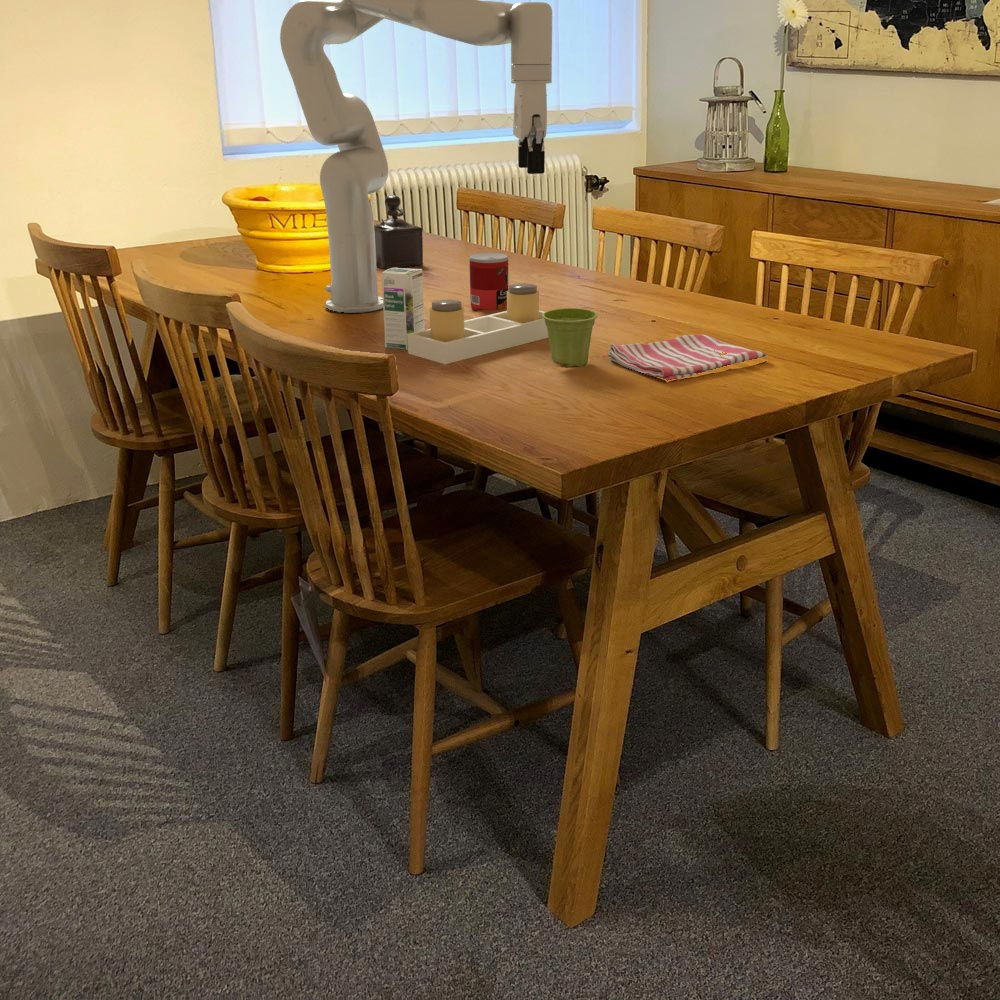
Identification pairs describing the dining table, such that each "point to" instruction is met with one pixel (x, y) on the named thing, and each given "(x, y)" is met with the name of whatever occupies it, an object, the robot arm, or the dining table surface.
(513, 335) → the caddy
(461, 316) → the honey jar
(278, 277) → the dining table surface
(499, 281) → the canned food
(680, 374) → the dish towel
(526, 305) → the honey jar
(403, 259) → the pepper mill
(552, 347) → the plant pot
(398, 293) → the syrup box
